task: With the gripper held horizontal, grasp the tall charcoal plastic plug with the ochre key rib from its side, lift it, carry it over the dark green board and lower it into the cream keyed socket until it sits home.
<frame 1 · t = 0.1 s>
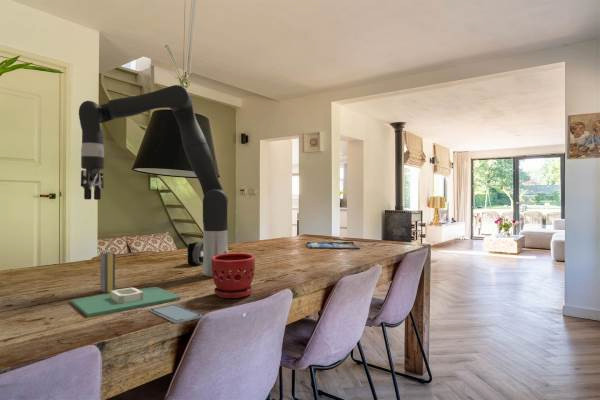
hand: (92, 199, 138), 29 cm above the table, tool pointing down, fingers open, 8 cm apart
cpu cooler: (197, 264, 168), on the table
plant pot: (233, 295, 113), on the table
smartphone: (175, 315, 94), on the table
keyed plug: (107, 290, 118), on the table
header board: (126, 301, 106), on the table
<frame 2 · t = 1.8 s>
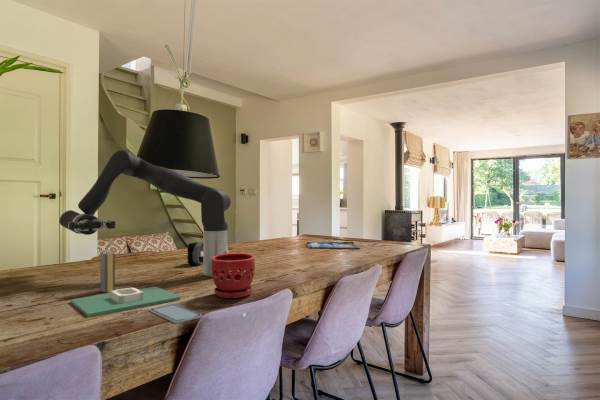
hand: (97, 226, 126), 20 cm above the table, tool horizontal, fingers open, 8 cm apart
nothing on the table moved.
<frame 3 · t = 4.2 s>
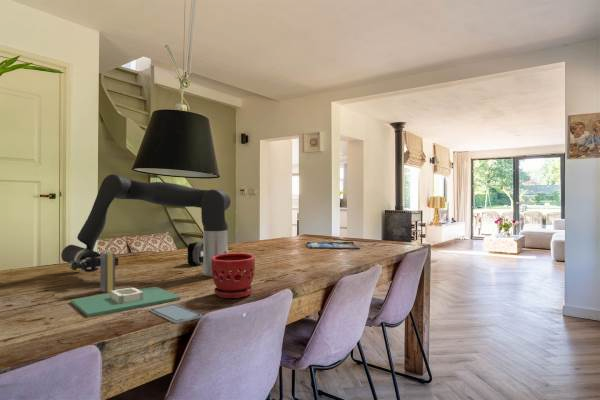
hand: (100, 265, 124), 7 cm above the table, tool horizontal, fingers open, 8 cm apart
nothing on the table moved.
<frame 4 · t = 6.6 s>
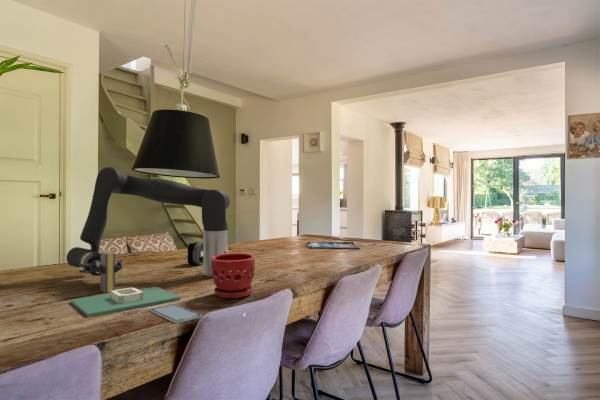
hand: (110, 269, 116), 7 cm above the table, tool horizontal, fingers closed on keyed plug, 3 cm apart
keyed plug: (107, 290, 118), on the table, touching gripper
everything else where it was.
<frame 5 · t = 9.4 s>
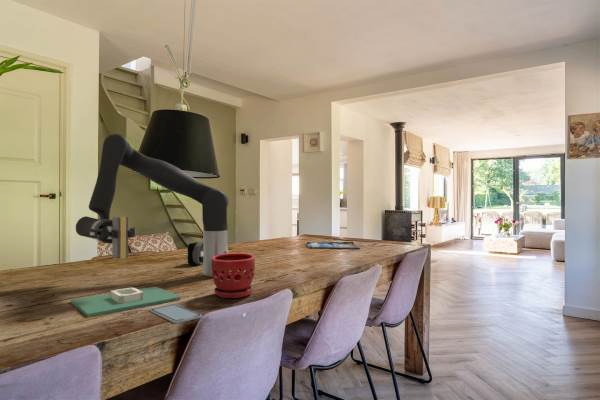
hand: (123, 234, 107), 19 cm above the table, tool horizontal, fingers closed on keyed plug, 3 cm apart
keyed plug: (120, 257, 109), point 12 cm above the table, touching gripper
everything else where it was.
when the fingers open (8 cm above the table, at t = 12.3 s): keyed plug stays where it is, resting on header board.
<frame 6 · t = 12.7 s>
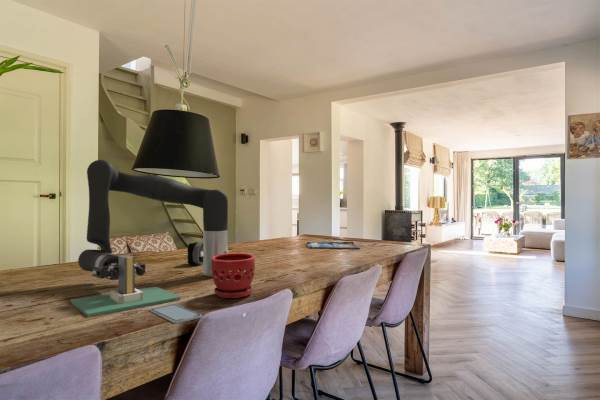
hand: (129, 273, 104), 8 cm above the table, tool horizontal, fingers open, 6 cm apart
keyed plug: (126, 298, 106), point 1 cm above the table, touching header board
everything else where it was.
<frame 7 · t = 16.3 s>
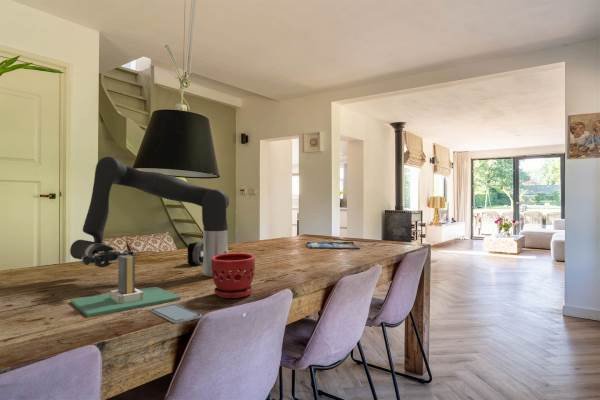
hand: (115, 259, 114), 11 cm above the table, tool horizontal, fingers open, 8 cm apart
nothing on the table moved.
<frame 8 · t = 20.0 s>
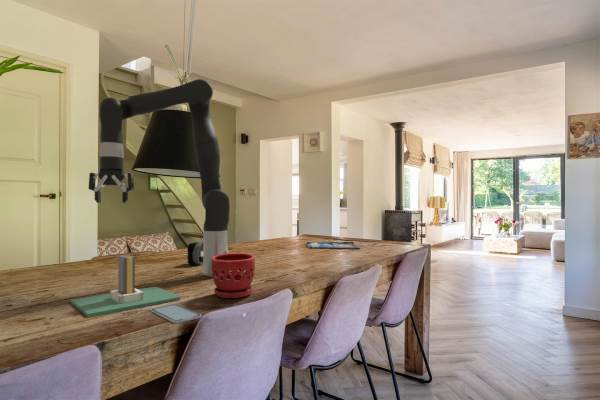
hand: (111, 202, 130), 28 cm above the table, tool pointing down, fingers open, 8 cm apart
nothing on the table moved.
at the end: keyed plug 0.1 cm off-centre on the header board, point 0.8 cm above the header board's base; keyed plug tilted 0°; the gripper is holding nothing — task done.
